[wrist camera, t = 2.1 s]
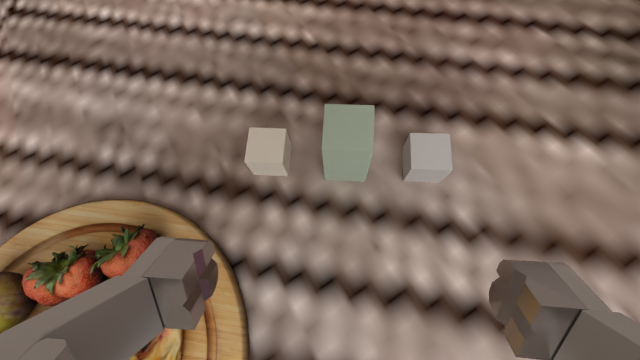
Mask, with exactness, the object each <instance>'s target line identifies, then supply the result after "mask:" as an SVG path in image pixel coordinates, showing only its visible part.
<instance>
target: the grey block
mask: <svg viewBox="0 0 640 360" xmlns="http://www.w3.org/2000/svg"><path fill="white" fill-rule="evenodd" d="M402 154H403V181H413V182H437V183H440V182H441V181H442V180H443V179H444V178H445V177H446V176H447V175H448V174H449V173H451V172H452V171H453V168H452V156H451V144H450V134H435V133H410V134H409V136H408V138H407V140H406V142H405V144H404V146H403V148H402Z"/></svg>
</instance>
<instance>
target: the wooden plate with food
mask: <svg viewBox="0 0 640 360" xmlns="http://www.w3.org/2000/svg"><path fill="white" fill-rule="evenodd" d="M159 237H173V238H187V239H199V240H210V241H211V242H213V244H214V249H215V253H214V255H213V256H212V259H213V260H214V261H215V262H216V263H217V265H218V281H217V285H216V288H215V291H214V293H213V295H212V296H211V297H210V298H209V299H207V300H206V301H204V305H205V311H204V313H203V315H202V317H201V319H200V321H199V323H198V325H197V326H196V328H195V330H186V329H167V328H163V329H164V330H163V331H162V332H161V333H160V334H159V335H157V336H156V337H155V338H154V339H152V340H151V341H150V342H149V343H148V344H146V345H145V346H144V347H143V348H142V349H140V350H139V351H138V352H137V353H136V354H134V355H133V356H132V357H131V358H130V359H128V360H249V335H248V324H247V316H246V310H245V305H244V300H243V297H242V293H241V290H240V287H239V283H238V281H237V278H236V276H235V273H234V271H233V269H232V267H231V265H230V264H229V262H228V260H227V259H226V257H225V256H224V254H223V253H222V251H221V250H220V248H219V247H218V246H217V245H216V244H215V242H214V241H213V240H212V239H211V238H210V237H209V235H208V234H206V233H205V232H204V231H203V230H202V229H201V228H200V227H199V226H198V225H196V224H195V223H194V222H192V221H191V220H189V219H188V218H186V217H184V216H183V215H181V214H179V213H177V212H175V211H173V210H171V209H168V208H165V207H162V206H160V205H157V204H153V203H150V202H146V201H139V200H124V199H116V200H102V201H95V202H88V203H84V204H80V205H77V206H73V207H70V208H67V209H64V210H61V211H59V212H56V213H54V214H51V215H49V216H47V217H45V218H43V219H41V220H39V221H37V222H36V223H34V224H32V225H30V226H29V227H27V228H25V229H24V230H22V231H21V232H19V233H18V234H17V235H15V236H14V237H12V238H11V239H10V240H8V241H7V242H6V243H4V244H3V245H2V246H1V247H0V334H1V333H2V332H4V331H6V330H8V329H10V328H12V327H14V326H16V325H18V324H20V323H22V322H24V321H26V320H28V319H30V318H32V317H34V316H36V315H38V314H40V313H42V312H44V311H46V310H48V309H50V308H52V307H54V306H56V305H58V304H60V303H62V302H64V301H66V300H68V299H70V298H72V297H74V296H76V295H78V294H80V293H82V292H84V291H86V290H88V289H90V288H92V287H94V286H96V285H98V284H100V283H102V282H104V281H106V280H108V279H110V278H113V277H115V276H122V275H123V274H124V273H125V272H126V271H127V270H128V269H129V268H130V267H131V265H132V264H133V263H134V262H135V261H136V260H137V259H138V258H139V257H140V256H141V254H142V253H143V252H144V251H145V250H146V249H147V248H148V247H149V246H150V245H151V244H152V242H153V241H154V240H155V239H156V238H159Z"/></svg>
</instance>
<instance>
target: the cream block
mask: <svg viewBox="0 0 640 360" xmlns="http://www.w3.org/2000/svg"><path fill="white" fill-rule="evenodd" d="M290 153H291V142H290V139H289V135H288V132H287V129H281V128H252V127H249V134H248V140H247V147H246V154H245V160H244V162H245V164H246V165H247V166H248V168H249V169H250V170H251V171H252V173H253V174H254V175H275V176H288V172H289V163H290Z"/></svg>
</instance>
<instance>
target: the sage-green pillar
mask: <svg viewBox="0 0 640 360" xmlns="http://www.w3.org/2000/svg"><path fill="white" fill-rule="evenodd" d="M373 153H374V105H342V104H325V108H324V123H323V137H322V157H323V166H324V176H325V180H343V181H364V182H365V179H366V176H367V172H368V169H369V166H370V163H371V159H372V156H373Z"/></svg>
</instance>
